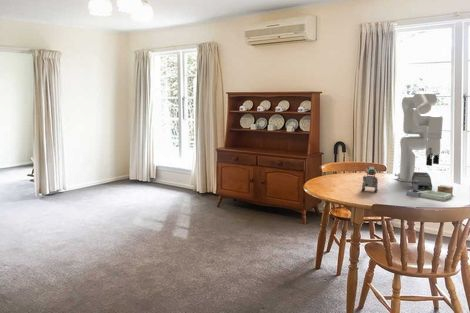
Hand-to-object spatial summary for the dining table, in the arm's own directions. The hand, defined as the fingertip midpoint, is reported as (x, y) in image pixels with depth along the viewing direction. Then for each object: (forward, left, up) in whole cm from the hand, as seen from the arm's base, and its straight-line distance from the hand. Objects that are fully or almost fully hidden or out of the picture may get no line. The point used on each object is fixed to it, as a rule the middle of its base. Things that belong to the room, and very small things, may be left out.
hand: (432, 164), depth 251 cm
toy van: (-10, +10, -19) cm, 24 cm away
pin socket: (-6, -8, -19) cm, 21 cm away
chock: (+5, +9, -19) cm, 21 cm away
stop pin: (-6, -8, -19) cm, 21 cm away
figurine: (-30, -18, -19) cm, 40 cm away
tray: (+5, -4, -19) cm, 20 cm away
